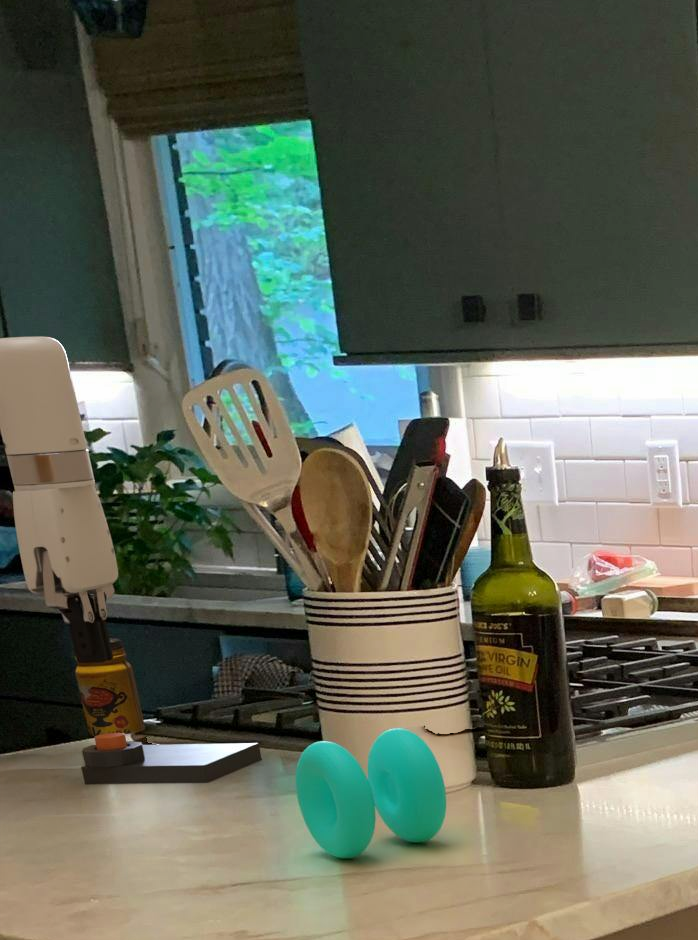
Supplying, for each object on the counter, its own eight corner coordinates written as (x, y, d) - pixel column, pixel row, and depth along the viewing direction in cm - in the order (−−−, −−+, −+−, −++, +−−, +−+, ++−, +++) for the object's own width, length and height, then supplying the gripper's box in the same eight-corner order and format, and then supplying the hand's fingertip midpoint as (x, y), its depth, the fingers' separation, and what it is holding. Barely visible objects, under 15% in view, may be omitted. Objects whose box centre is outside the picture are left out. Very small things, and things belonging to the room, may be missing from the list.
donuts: (460, 846, 170) (442, 731, 166) (357, 869, 164) (336, 750, 160) (403, 831, 177) (384, 720, 173) (301, 852, 171) (280, 738, 166)
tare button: (91, 753, 203) (88, 738, 202) (107, 747, 206) (104, 732, 205) (118, 752, 202) (114, 737, 202) (133, 747, 205) (130, 732, 204)
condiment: (91, 756, 219) (66, 647, 214) (85, 745, 225) (61, 639, 221) (159, 748, 221) (136, 640, 216) (151, 737, 228) (129, 633, 223)
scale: (78, 786, 203) (70, 752, 202) (140, 762, 214) (134, 730, 213) (205, 784, 201) (198, 750, 199) (262, 760, 212) (256, 728, 211)
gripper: (60, 469, 200) (102, 652, 207) (-28, 479, 186) (20, 674, 194) (126, 466, 199) (166, 649, 206) (43, 476, 185) (89, 671, 193)
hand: (95, 661), depth 200 cm, fingers closed
